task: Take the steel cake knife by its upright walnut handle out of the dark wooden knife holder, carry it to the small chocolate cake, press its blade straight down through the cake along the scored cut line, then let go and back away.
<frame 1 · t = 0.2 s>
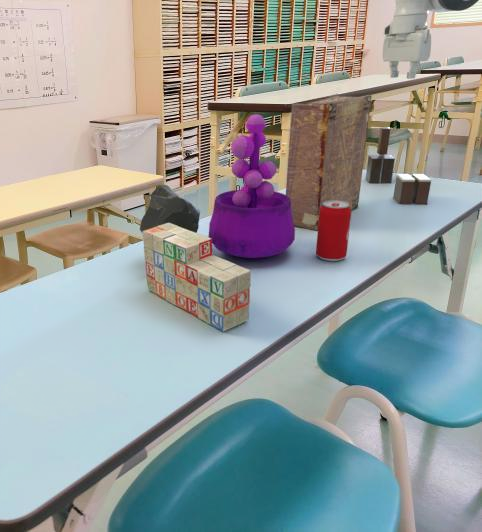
hand: (402, 78, 154), 32 cm above the table, tool pointing down, fingers open, 8 cm apart
stack of blocks: (194, 304, 94), on the table, touching dark grey faceted rock
knife: (378, 181, 171), on the table
book: (322, 216, 139), on the table
dark grey faceted rock: (169, 268, 111), on the table, touching stack of blocks
cake: (409, 200, 149), on the table
decorative plant: (249, 253, 117), on the table
knife holder: (378, 181, 171), on the table
beverage can: (330, 258, 112), on the table
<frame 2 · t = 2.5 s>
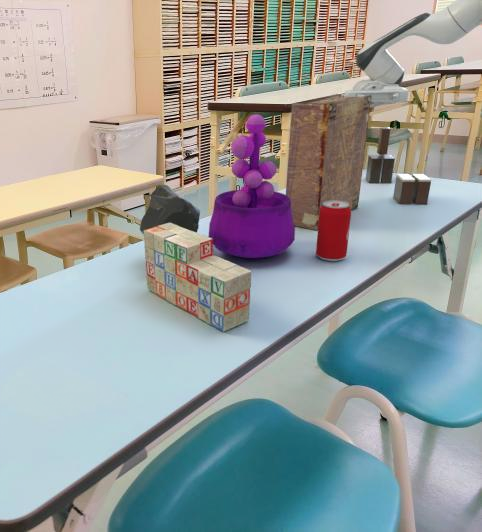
hand: (380, 98, 172), 25 cm above the table, tool horizontal, fingers open, 8 cm apart
nothing on the table moved.
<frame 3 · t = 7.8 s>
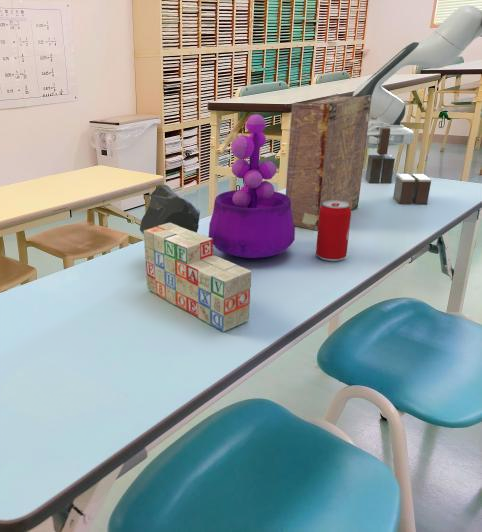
hand: (384, 141, 165), 13 cm above the table, tool horizontal, fingers closed on knife, 2 cm apart
knife: (378, 181, 171), on the table, touching gripper
everything else where it was.
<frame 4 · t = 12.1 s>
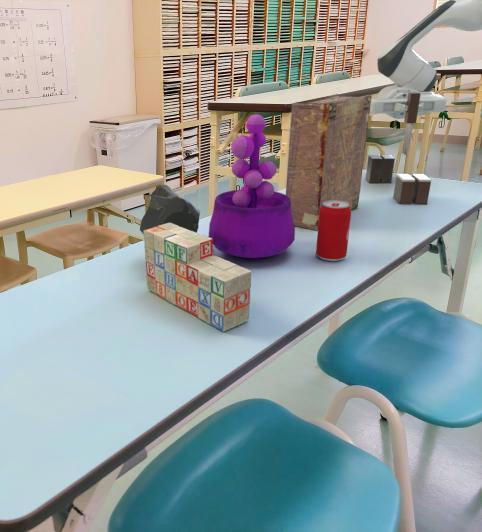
hand: (413, 108, 145), 25 cm above the table, tool horizontal, fingers closed on knife, 2 cm apart
knife: (405, 154, 151), point 12 cm above the table, touching gripper
everything else where it was.
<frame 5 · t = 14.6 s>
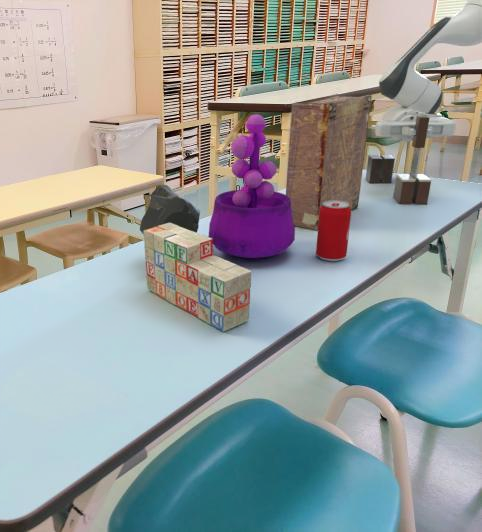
hand: (421, 132, 140), 19 cm above the table, tool horizontal, fingers closed on knife, 2 cm apart
knife: (412, 179, 146), point 6 cm above the table, touching gripper
everything else where it was.
when the fingers open (13 cm above the table, at t = 16.5 s): knife stays where it is, on the table.
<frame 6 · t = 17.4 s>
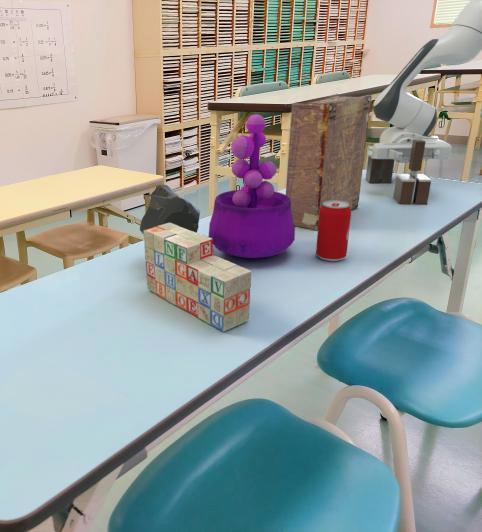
hand: (418, 156, 143), 13 cm above the table, tool horizontal, fingers open, 8 cm apart
knife: (409, 200, 149), on the table
everything else where it was.
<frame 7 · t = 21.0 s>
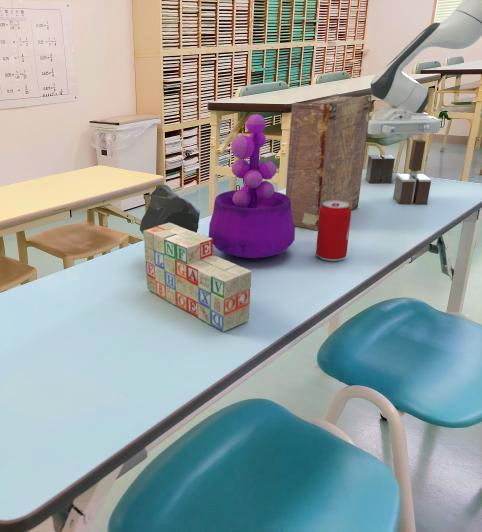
hand: (409, 130, 154), 18 cm above the table, tool horizontal, fingers open, 8 cm apart
nothing on the table moved.
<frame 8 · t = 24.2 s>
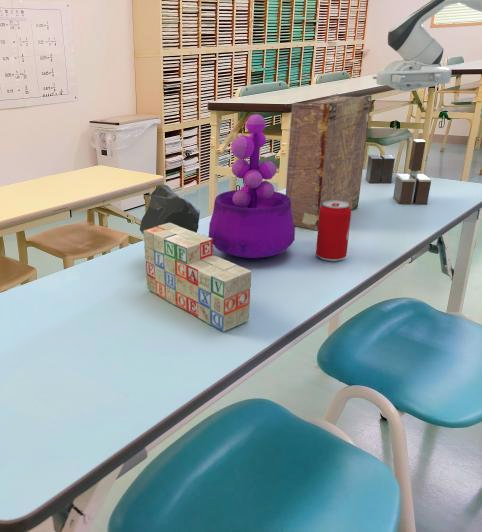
hand: (419, 78, 151), 32 cm above the table, tool horizontal, fingers open, 8 cm apart
nothing on the table moved.
at the end: knife 0.1 cm off-centre on the cake, point 0.0 cm above the cake's base; knife tilted 0°; the gripper is holding nothing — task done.
